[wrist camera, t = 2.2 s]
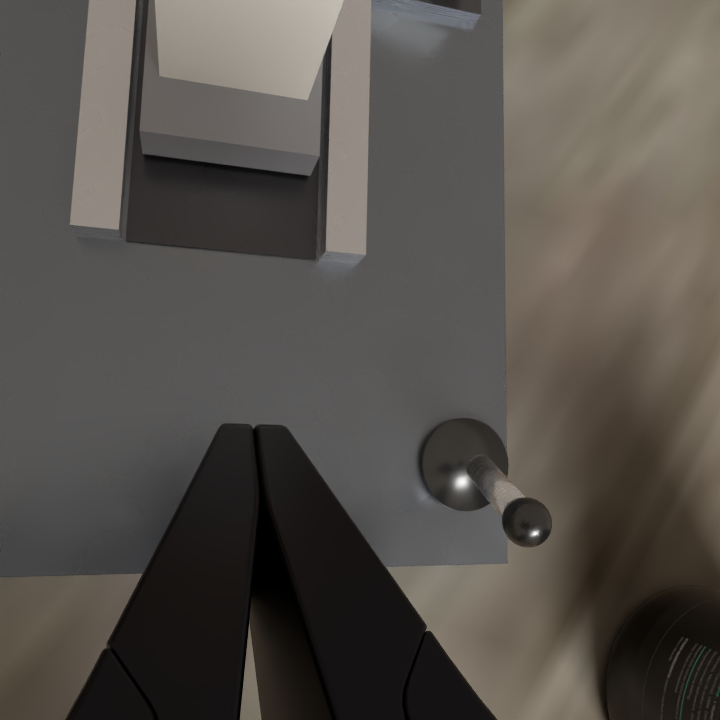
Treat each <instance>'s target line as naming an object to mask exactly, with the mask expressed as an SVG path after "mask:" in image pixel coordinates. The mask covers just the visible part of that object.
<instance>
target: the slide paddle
mask: <svg viewBox="0 0 720 720" xmlns="http://www.w3.org/2000/svg"><path fill="white" fill-rule="evenodd" d="M343 1H344V0H149V6H148V19H147V33H146V47H145V61H144V75H143V89H142V102H141V116H140V130H139V131H140V138H141V146H142V153H143V154H148V155H156V156H164V157H171V158H179V159H186V160H194V161H201V162H209V163H217V164H224V165H232V166H239V167H247V168H254V169H262V170H270V171H277V172H285V173H292V174H300V175H307V176H310V175H311V173H312V171H313V169H314V167H315V165H316V163H317V161H318V158H319V156H320V130H321V99H322V67H323V56H324V54H325V51H326V48H327V45H328V43H329V40H330V37H331V34H332V32H333V29H334V26H335V23H336V21H337V18H338V15H339V12H340V10H341V7H342V4H343Z"/></svg>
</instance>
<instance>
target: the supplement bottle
mask: <svg viewBox="0 0 720 720" xmlns="http://www.w3.org/2000/svg"><path fill="white" fill-rule="evenodd" d="M606 701H607V709H608V714H609V719H610V720H720V591H718V590H714V589H710V588H705V587H696V586H686V587H678V588H673V589H669V590H666V591H664V592H661V593H659V594H657V595H655V596H654V597H652V598H650V599H649V600H647V601H646V602H645V603H643V604H642V605H641V606H640V607H639V608H638V609H637V610H636V611H635V612H634V613H633V614H632V615H631V616H630V617H629V619H628V620H627V621H626V623H625V624H624V626H623V627H622V629H621V631H620V633H619V635H618V637H617V639H616V641H615V643H614V646H613V648H612V652H611V655H610V659H609V663H608V669H607V676H606Z"/></svg>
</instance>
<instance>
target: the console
mask: <svg viewBox="0 0 720 720" xmlns="http://www.w3.org/2000/svg"><path fill="white" fill-rule="evenodd" d="M148 6H149V0H0V577H27V576H64V575H101V574H137V573H143V572H144V570H145V569H146V567H147V565H148V563H149V561H150V559H151V557H152V555H153V553H154V551H155V549H156V547H157V545H158V543H159V542H160V540H161V538H162V536H163V534H164V532H165V530H166V528H167V526H168V524H169V522H170V520H171V518H172V516H173V515H174V513H175V511H176V509H177V507H178V505H179V503H180V501H181V499H182V497H183V495H184V493H185V491H186V490H187V488H188V486H189V484H190V482H191V480H192V478H193V476H194V474H195V472H196V470H197V468H198V466H199V464H200V463H201V461H202V459H203V457H204V455H205V453H206V451H207V449H208V447H209V445H210V443H211V441H212V439H213V437H214V436H215V434H216V432H217V430H218V428H219V427H220V425H222V424H223V423H238V424H250V425H251V426H252V427H253V428H254V427H255V426H256V425H258V424H270V425H284V426H285V427H287V428H288V429H289V431H290V432H291V434H292V435H293V436H294V438H295V439H296V441H297V442H298V444H299V445H300V446H301V448H302V449H303V451H304V452H305V453H306V455H307V456H308V458H309V459H310V461H311V462H312V463H313V465H314V466H315V468H316V469H317V470H318V472H319V473H320V475H321V476H322V478H323V479H324V480H325V482H326V483H327V485H328V486H329V488H330V489H331V490H332V492H333V493H334V495H335V496H336V497H337V499H338V500H339V502H340V503H341V505H342V506H343V507H344V509H345V510H346V512H347V513H348V515H349V516H350V517H351V519H352V520H353V522H354V523H355V524H356V526H357V527H358V529H359V530H360V532H361V533H362V534H363V536H364V537H365V539H366V540H367V542H368V543H369V544H370V546H371V547H372V549H373V550H374V551H375V553H376V554H377V556H378V557H379V559H380V560H381V561H382V563H383V564H384V566H385V567H396V566H433V565H470V564H506V563H508V561H507V536H506V534H505V532H504V530H503V527H502V517H501V516H500V515H499V513H498V512H497V511H496V510H495V508H494V507H493V506H492V505H491V503H490V502H489V501H488V500H487V499H486V497H485V496H484V495H483V494H482V492H481V491H480V490H479V489H478V488H477V486H476V485H475V484H474V483H473V481H472V480H471V479H470V478H469V476H468V475H467V473H466V463H467V461H468V459H469V458H470V457H472V456H474V455H477V454H482V455H485V456H487V457H488V458H489V459H490V460H491V461H492V462H493V463H494V464H495V465H496V466H497V467H498V468H499V469H500V470H501V471H502V472H503V474H504V475H505V476H506V477H507V474H508V457H507V450H506V338H505V227H504V115H503V4H502V0H344V1H343V4H342V7H341V10H340V12H339V15H338V18H337V21H336V23H335V26H334V29H333V32H332V34H331V37H330V40H329V43H328V45H327V48H326V51H325V54H324V56H323V67H322V99H321V130H320V156H319V158H318V161H317V163H316V165H315V167H314V169H313V171H312V173H311V175H310V176H307V175H300V174H292V173H285V172H277V171H270V170H262V169H254V168H247V167H239V166H232V165H224V164H217V163H209V162H201V161H194V160H186V159H179V158H171V157H164V156H156V155H148V154H143V153H142V146H141V138H140V131H139V130H140V116H141V102H142V89H143V75H144V61H145V47H146V33H147V19H148Z"/></svg>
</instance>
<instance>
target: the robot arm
mask: <svg viewBox="0 0 720 720" xmlns="http://www.w3.org/2000/svg"><path fill="white" fill-rule="evenodd" d="M249 621H250V629H251V637H252V645H253V653H254V662H255V670H256V678H257V686H258V694H259V702H260V710H261V718H262V720H497V719H496V717H495V716H494V715H493V714H492V713H491V711H490V710H489V709H488V708H487V706H486V705H485V704H484V703H483V702H482V700H481V699H480V698H479V697H478V695H477V694H476V693H475V691H474V690H473V689H472V687H471V686H470V685H469V683H468V682H467V681H466V679H465V678H464V677H463V675H462V674H461V673H460V671H459V670H458V669H457V667H456V666H455V664H454V663H453V662H452V660H451V659H450V658H449V656H448V655H447V654H446V652H445V651H444V649H443V648H442V646H441V645H440V643H439V642H438V641H437V639H436V638H435V636H434V635H433V633H432V632H431V631H426V628H427V626H426V624H425V622H424V621H423V620H422V618H421V617H420V615H419V614H418V613H417V611H416V610H415V608H414V607H413V605H412V604H411V603H410V601H409V600H408V598H407V597H406V595H405V594H404V593H403V591H402V590H401V588H400V587H399V586H398V584H397V583H396V581H395V580H394V578H393V577H392V576H391V574H390V573H389V571H388V570H387V568H386V567H385V566H384V564H383V563H382V561H381V560H380V559H379V557H378V556H377V554H376V553H375V551H374V550H373V549H372V547H371V546H370V544H369V543H368V542H367V540H366V539H365V537H364V536H363V534H362V533H361V532H360V530H359V529H358V527H357V526H356V524H355V523H354V522H353V520H352V519H351V517H350V516H349V515H348V513H347V512H346V510H345V509H344V507H343V506H342V505H341V503H340V502H339V500H338V499H337V497H336V496H335V495H334V493H333V492H332V490H331V489H330V488H329V486H328V485H327V483H326V482H325V480H324V479H323V478H322V476H321V475H320V473H319V472H318V470H317V469H316V468H315V466H314V465H313V463H312V462H311V461H310V459H309V458H308V456H307V455H306V453H305V452H304V451H303V449H302V448H301V446H300V445H299V444H298V442H297V441H296V439H295V438H294V436H293V435H292V434H291V432H290V431H289V429H288V428H287V427H285V426H284V425H270V424H258V425H256V426H255V427H254V428H253V427H252V426H251V425H250V424H238V423H223V424H222V425H220V427H219V428H218V430H217V432H216V434H215V436H214V437H213V439H212V441H211V443H210V445H209V447H208V449H207V451H206V453H205V455H204V457H203V459H202V461H201V463H200V464H199V466H198V468H197V470H196V472H195V474H194V476H193V478H192V480H191V482H190V484H189V486H188V488H187V490H186V491H185V493H184V495H183V497H182V499H181V501H180V503H179V505H178V507H177V509H176V511H175V513H174V515H173V516H172V518H171V520H170V522H169V524H168V526H167V528H166V530H165V532H164V534H163V536H162V538H161V540H160V542H159V543H158V545H157V547H156V549H155V551H154V553H153V555H152V557H151V559H150V561H149V563H148V565H147V567H146V569H145V570H144V572H143V574H142V576H141V578H140V580H139V582H138V584H137V586H136V588H135V590H134V592H133V594H132V596H131V597H130V599H129V601H128V603H127V605H126V607H125V609H124V611H123V613H122V615H121V617H120V619H119V621H118V623H117V624H116V626H115V628H114V630H113V632H112V634H111V636H110V638H109V640H108V642H107V648H106V649H104V650H103V651H102V652H101V654H100V656H99V658H98V660H97V662H96V664H95V666H94V668H93V670H92V672H91V674H90V675H89V677H88V679H87V681H86V683H85V685H84V687H83V689H82V690H81V692H80V694H79V696H78V697H77V699H76V701H75V703H74V705H73V706H72V708H71V710H70V712H69V714H68V715H67V717H66V719H65V720H240V710H241V700H242V690H243V679H244V669H245V659H246V649H247V639H248V629H249ZM425 631H426V632H425Z"/></svg>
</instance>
